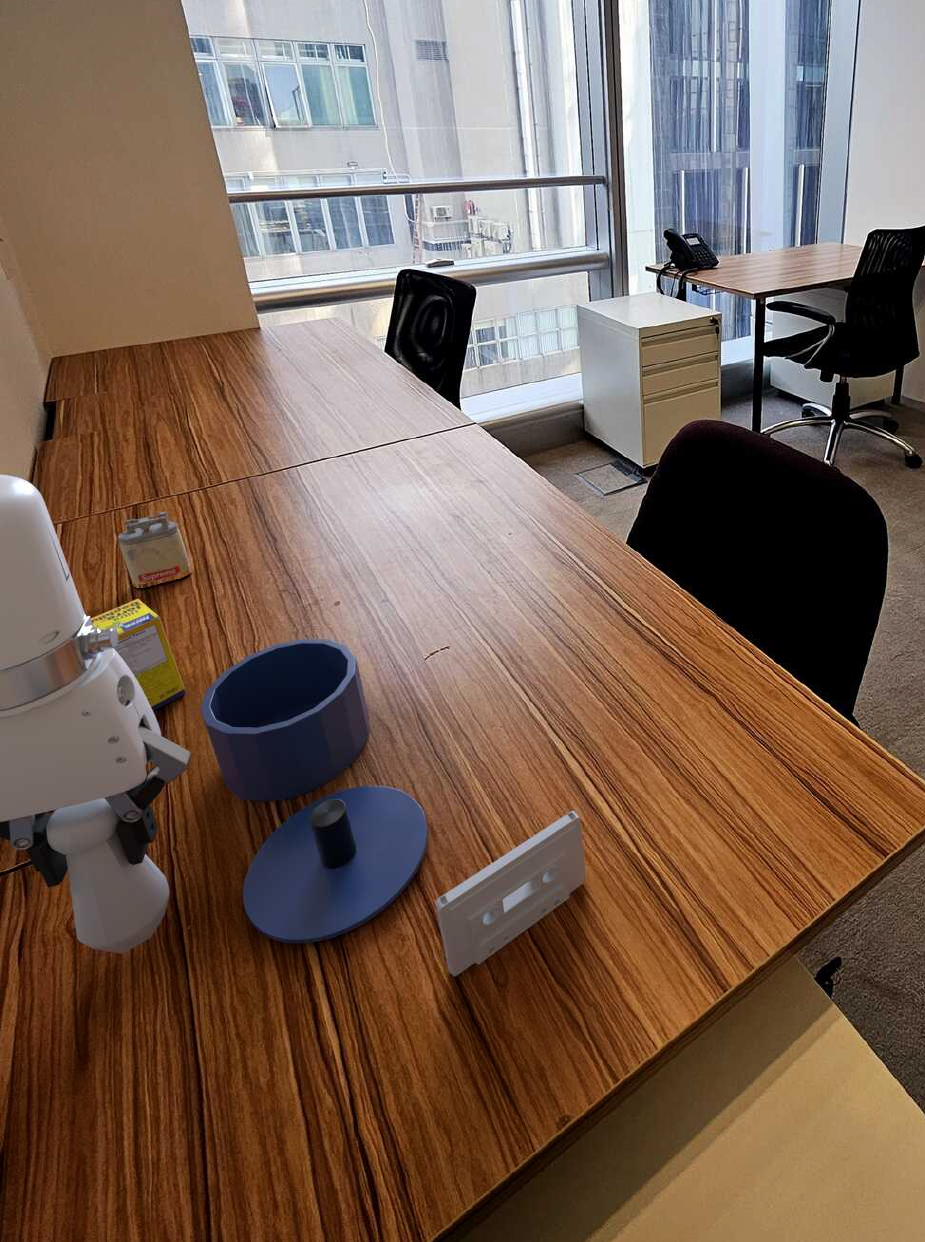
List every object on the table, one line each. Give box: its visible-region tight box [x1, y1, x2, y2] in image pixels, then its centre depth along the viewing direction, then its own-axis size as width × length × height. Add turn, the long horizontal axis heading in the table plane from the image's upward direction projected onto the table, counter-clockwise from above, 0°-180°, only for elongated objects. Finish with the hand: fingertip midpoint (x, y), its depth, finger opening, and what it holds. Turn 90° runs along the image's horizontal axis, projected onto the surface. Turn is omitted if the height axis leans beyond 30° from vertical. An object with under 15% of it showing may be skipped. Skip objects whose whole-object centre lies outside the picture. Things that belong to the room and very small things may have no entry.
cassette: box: [434, 810, 587, 977], centre depth 58 cm, size 12×2×8 cm, turn 131°
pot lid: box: [242, 785, 429, 945], centre depth 63 cm, size 15×15×6 cm
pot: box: [199, 638, 371, 803], centre depth 75 cm, size 14×14×8 cm
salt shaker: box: [46, 798, 170, 955], centre depth 55 cm, size 6×6×13 cm
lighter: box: [117, 511, 191, 584], centre depth 104 cm, size 7×4×10 cm, turn 122°
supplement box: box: [90, 598, 187, 712], centre depth 81 cm, size 6×6×11 cm
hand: (102, 856), depth 55 cm, fingers closed on salt shaker, 4 cm apart
